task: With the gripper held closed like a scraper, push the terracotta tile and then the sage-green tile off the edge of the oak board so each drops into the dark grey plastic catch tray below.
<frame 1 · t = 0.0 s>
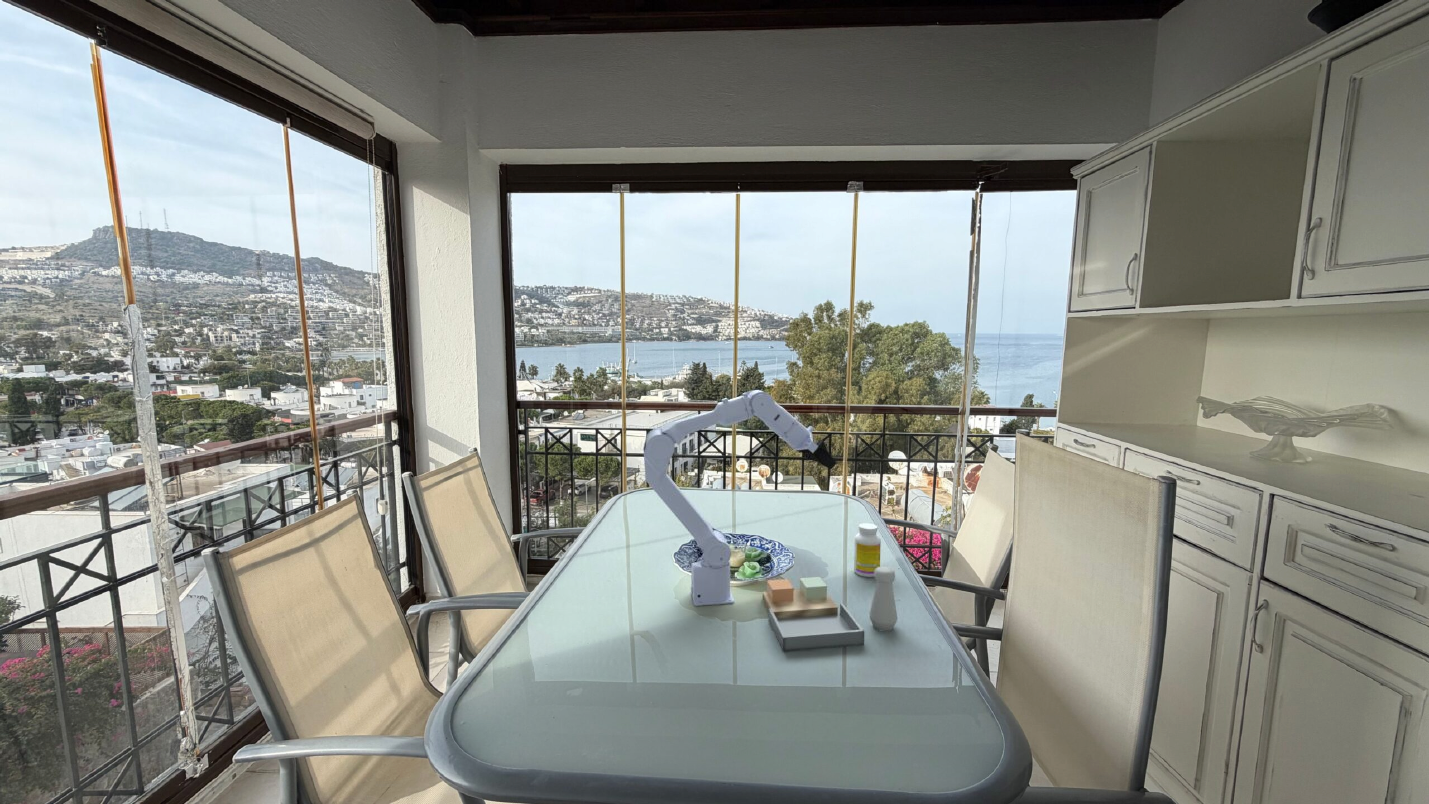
hand: (827, 462, 135), 32 cm above the table, tool tilted 50°, fingers open, 7 cm apart
tile sage: (813, 594, 131), point 2 cm above the table, touching board
salt shaker: (882, 627, 121), on the table
tray: (814, 632, 118), on the table
board: (798, 607, 129), on the table
tile terracotta: (780, 596, 130), point 2 cm above the table, touching board
supplement bottle: (866, 573, 148), on the table
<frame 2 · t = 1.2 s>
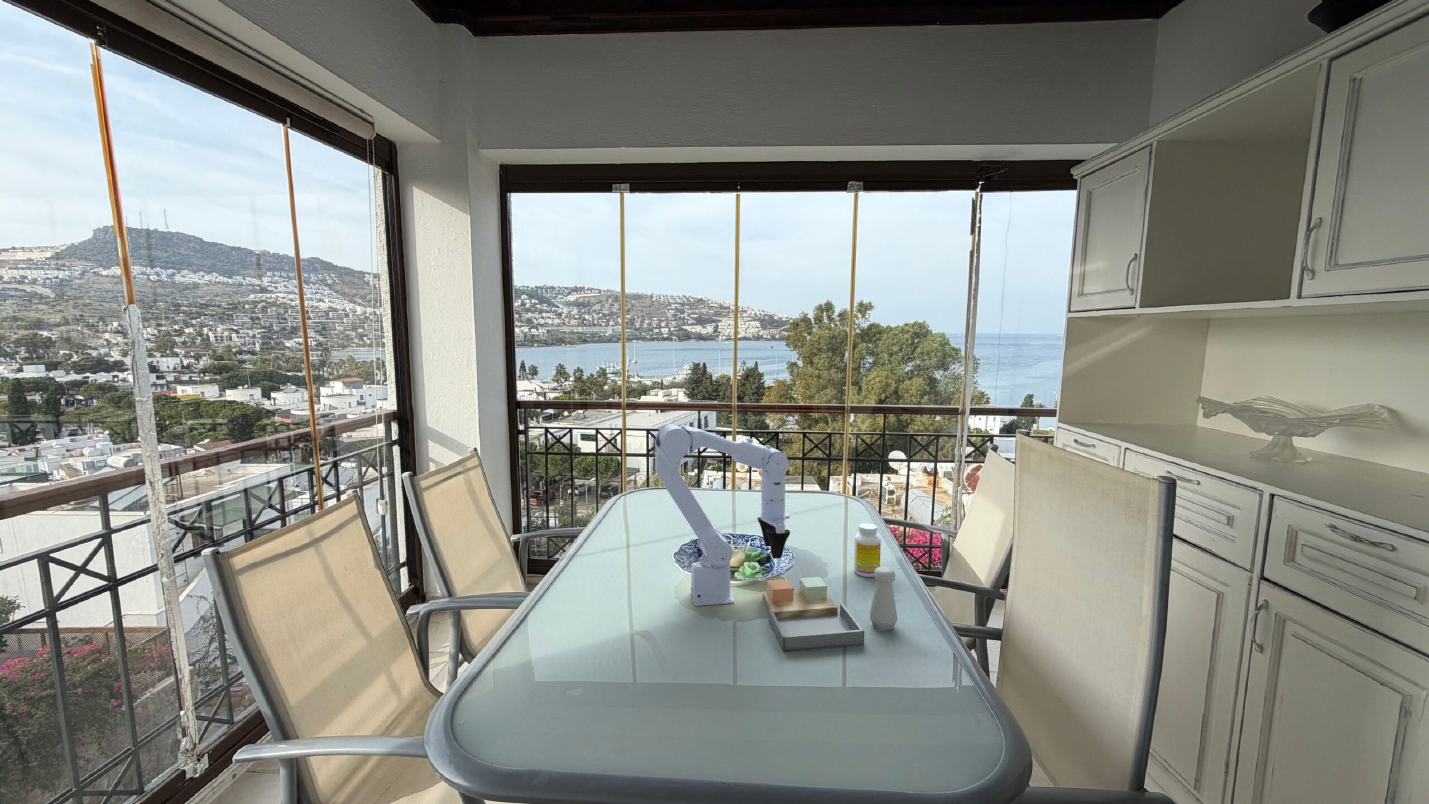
hand: (773, 551, 137), 10 cm above the table, tool pointing down, fingers open, 7 cm apart
nothing on the table moved.
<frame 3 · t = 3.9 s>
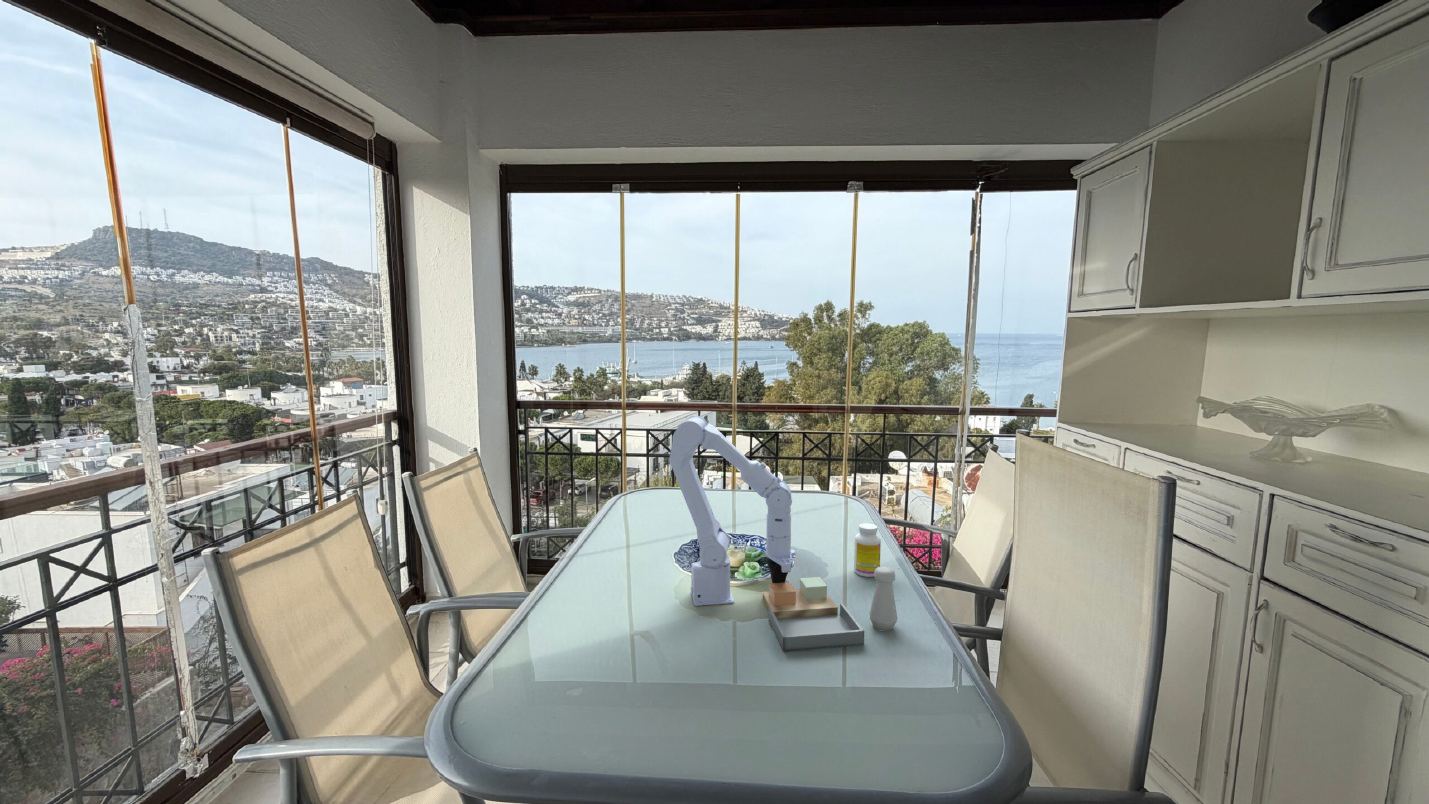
hand: (778, 589, 132), 3 cm above the table, tool pointing down, fingers closed
tile terracotta: (782, 599, 129), point 2 cm above the table, touching gripper
everything else where it was.
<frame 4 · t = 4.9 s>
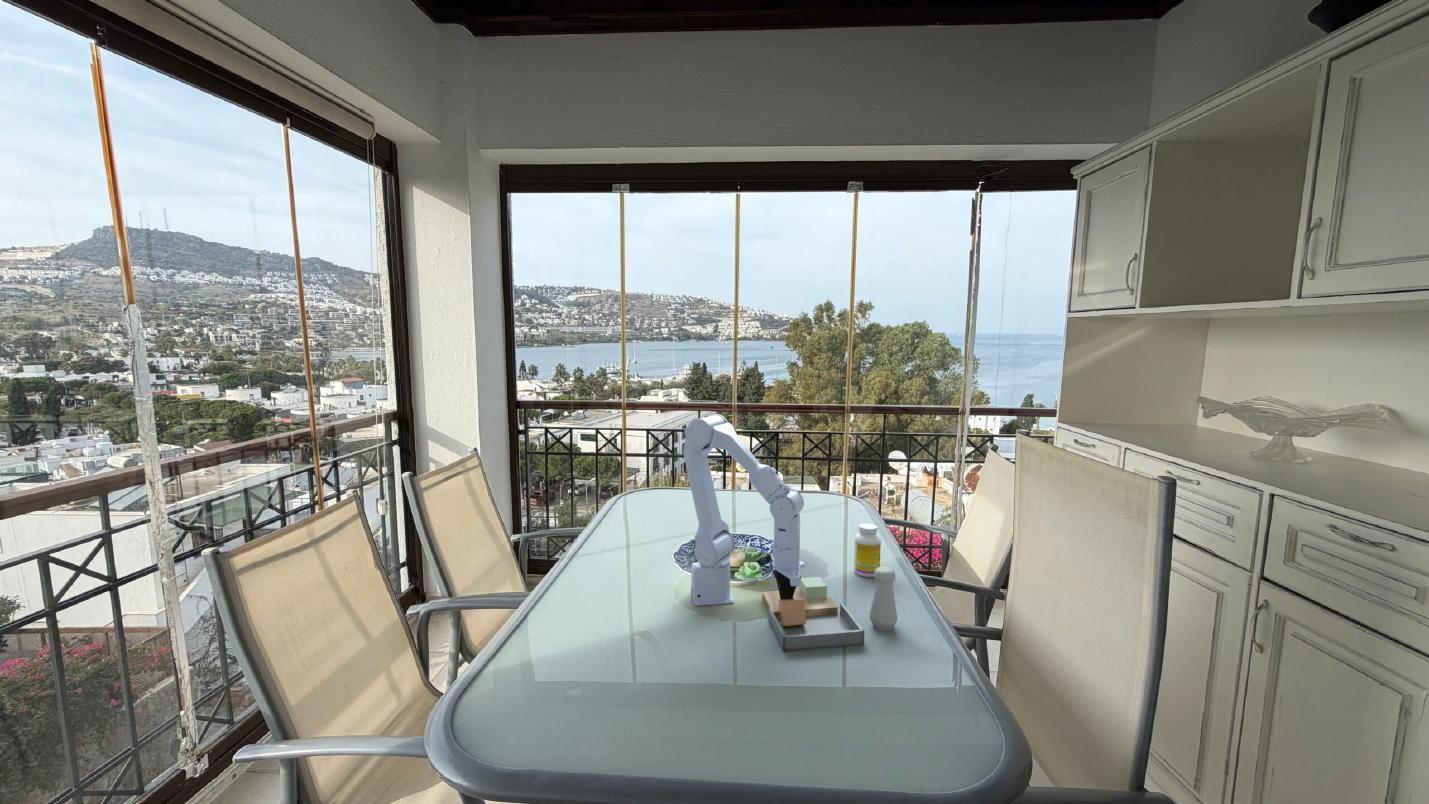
hand: (786, 603, 125), 3 cm above the table, tool pointing down, fingers closed
tile terracotta: (790, 610, 122), point 3 cm above the table, tilted 70°, touching tray
everything else where it was.
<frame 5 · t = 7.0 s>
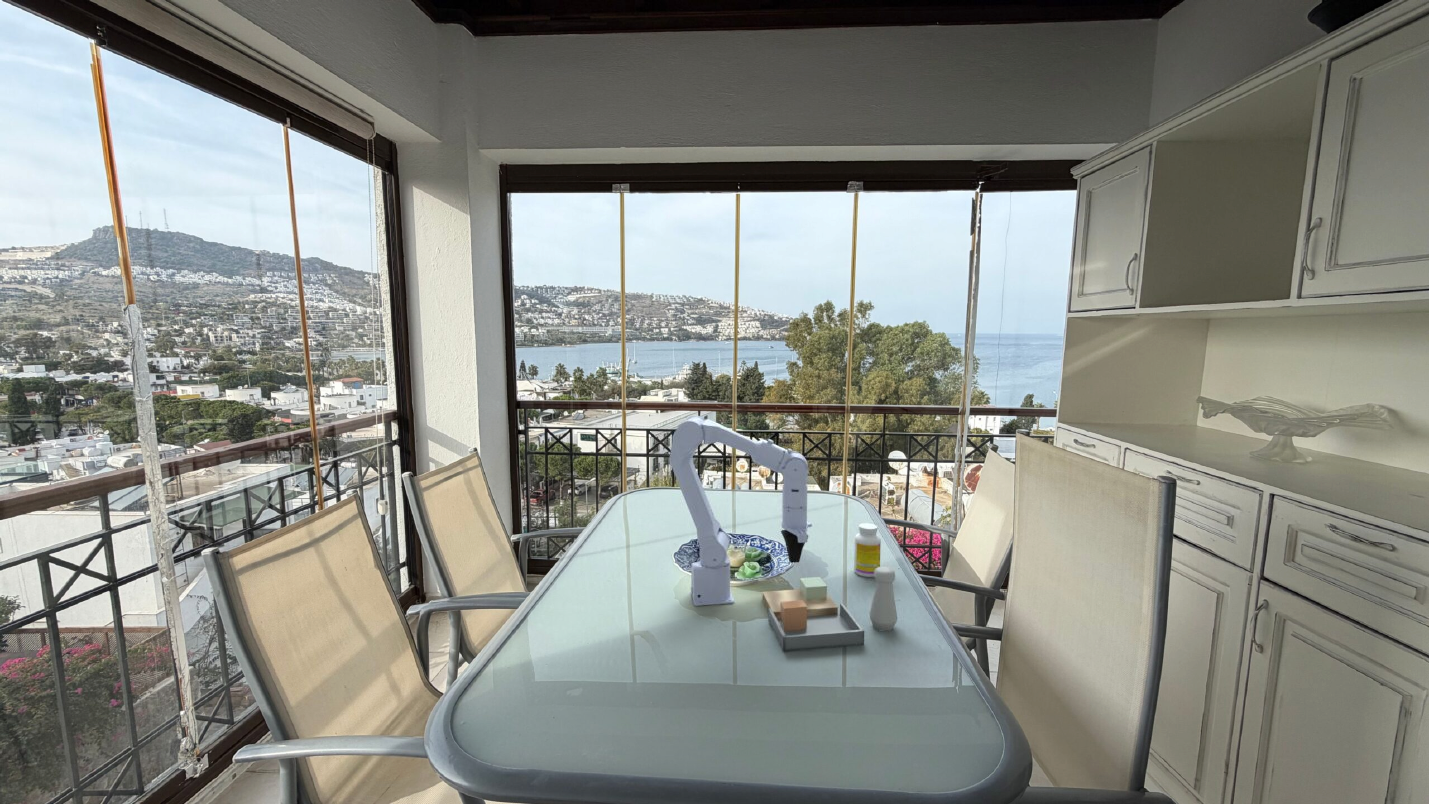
hand: (794, 561, 131), 10 cm above the table, tool pointing down, fingers closed
tile terracotta: (791, 611, 121), point 3 cm above the table, tilted 90°, touching tray
everything else where it was.
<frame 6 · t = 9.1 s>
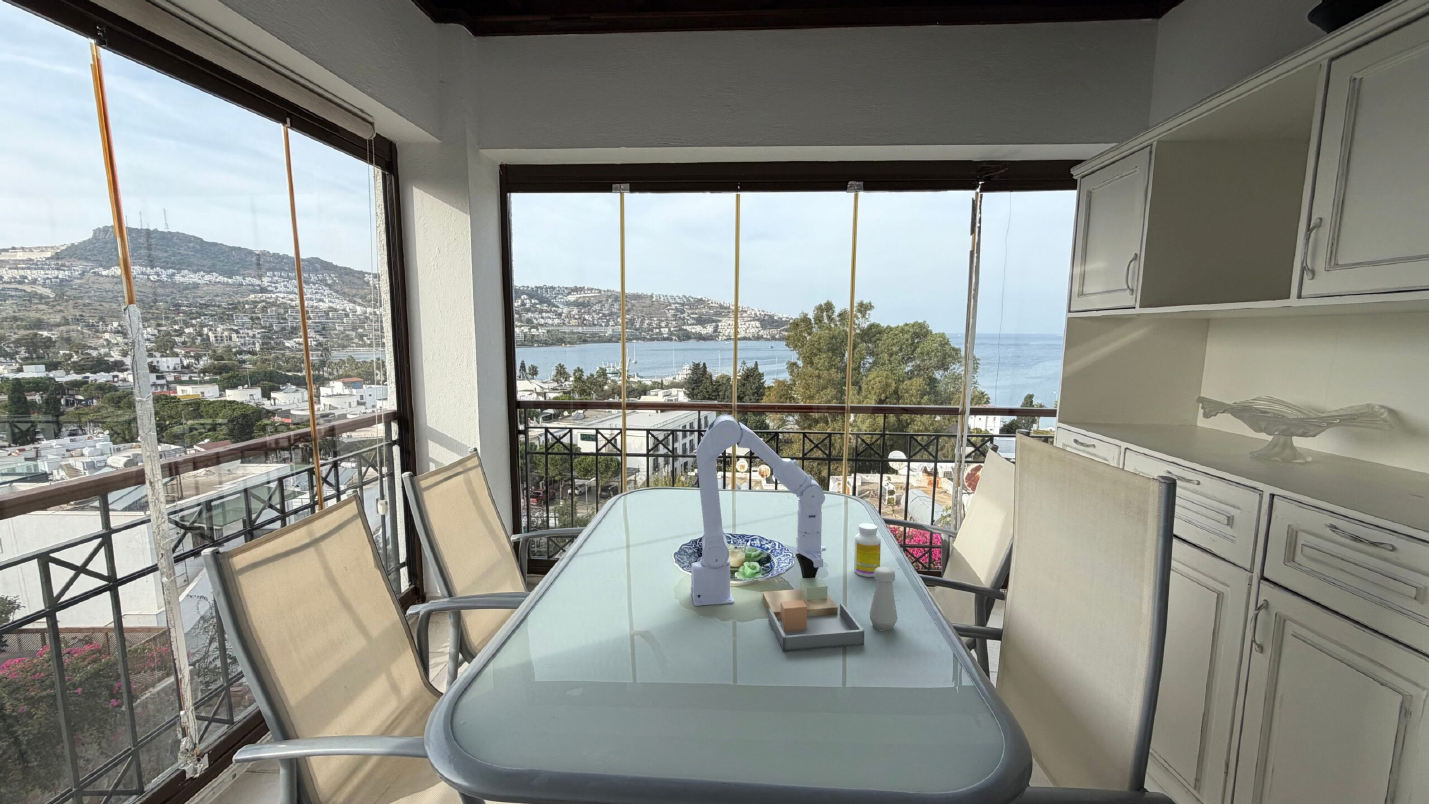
hand: (808, 584, 135), 3 cm above the table, tool pointing down, fingers closed
tile sage: (813, 594, 131), point 2 cm above the table, touching gripper
everything else where it was.
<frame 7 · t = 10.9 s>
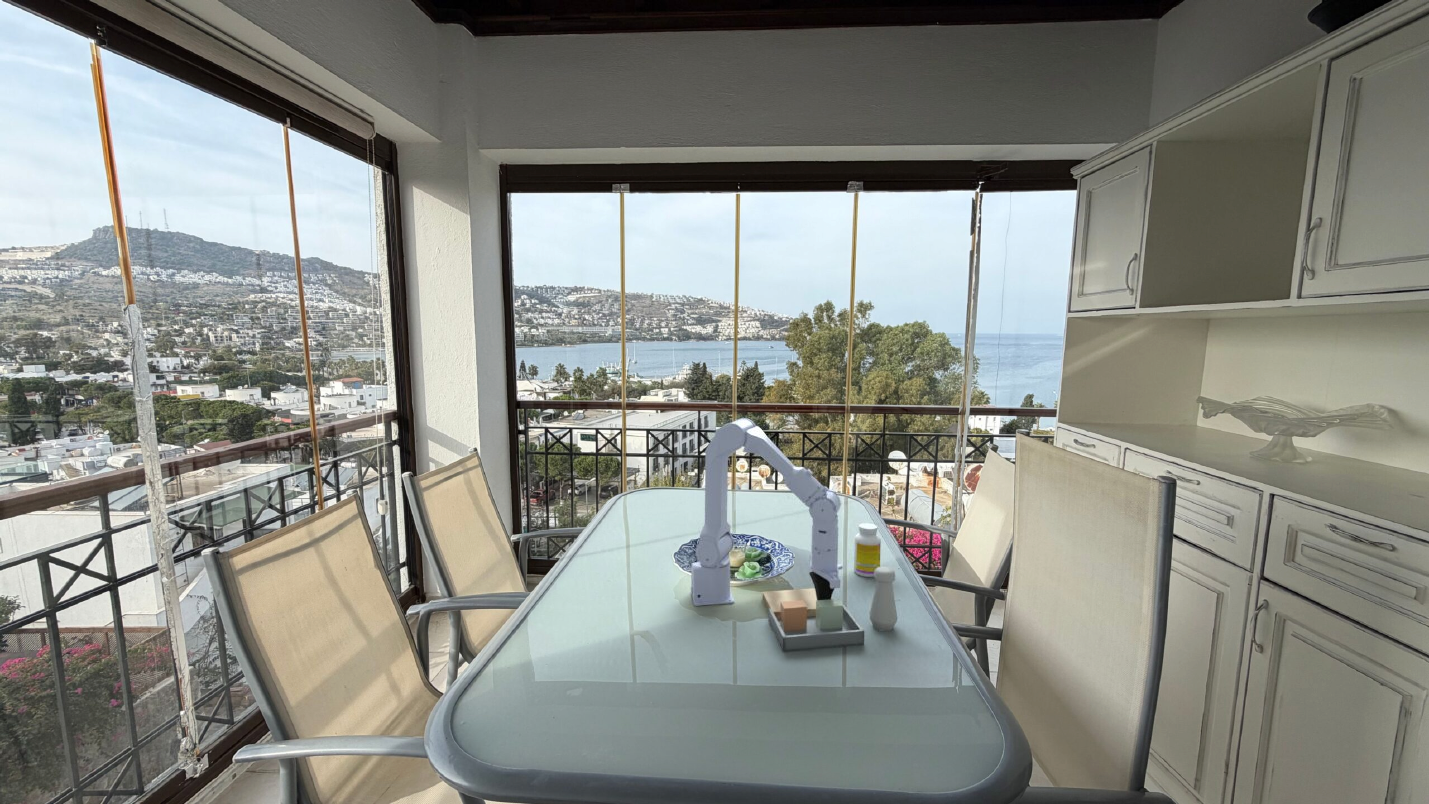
hand: (823, 605, 124), 3 cm above the table, tool pointing down, fingers closed
tile sage: (827, 610, 121), point 3 cm above the table, tilted 90°, touching tray
everything else where it was.
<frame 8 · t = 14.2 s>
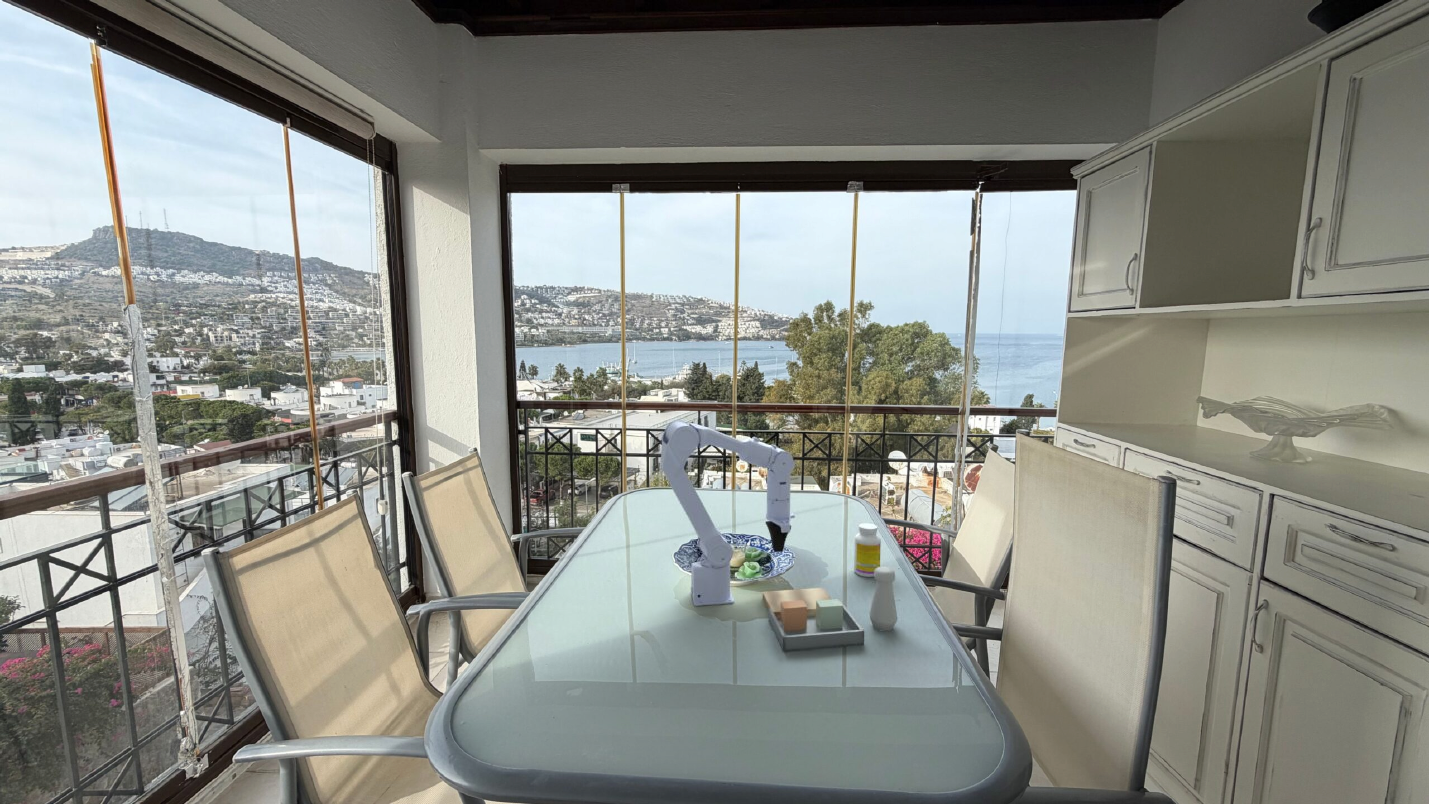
hand: (777, 550, 138), 10 cm above the table, tool pointing down, fingers closed
nothing on the table moved.
at the end: tile terracotta inside the target area (5.5 cm from its centre), point 3.0 cm above the table; tile sage inside the target area (5.1 cm from its centre), point 3.0 cm above the table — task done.
